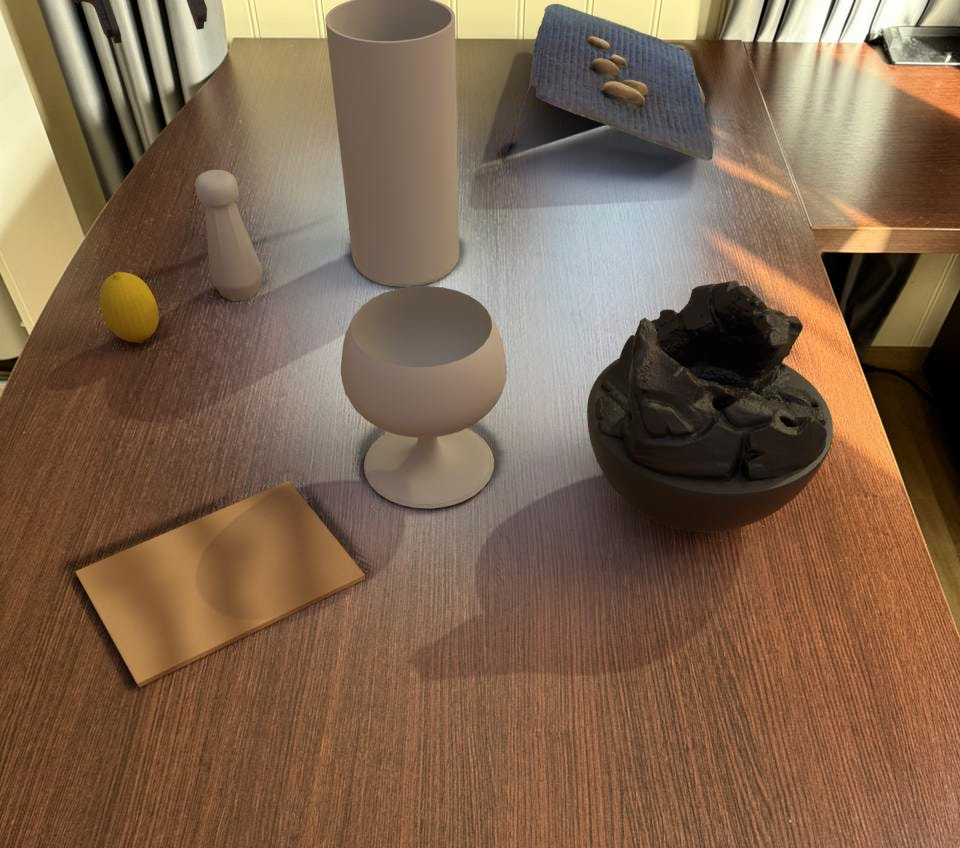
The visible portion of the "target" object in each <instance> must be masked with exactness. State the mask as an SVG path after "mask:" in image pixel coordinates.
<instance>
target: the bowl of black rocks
mask: <svg viewBox="0 0 960 848" xmlns="http://www.w3.org/2000/svg"><path fill="white" fill-rule="evenodd" d="M803 329H804V325H803V323H802V321H801V320H800V318H798V316H795V315H787V314H785V313H784V312H783V311H781V310H778V309H773V308H771V307H768V306H767V305H766V304H765V302H764V301H763V299H761V298H760V297H759V296H758V295H757V294H756V293H755V292H754V291H753V290H752V289H751V288H750V287H749V286H747V285H740V284H739V282H738V281H737V280H729V281H725V282H724V281H723V282H719V283H709V284H702V285H698V286H696V287H694V288H693V289H692V290H691V293H690V297H689V299H688V301H687V304H685V305H684V307H683V308H682V309H681V310H679V312H678V311H676V310H675V309H666V308H665V309H662V310H660V312H659V317H658V318H656V319H652V320H649V319H648V318H647V317H643V318H642V319H640V320H639V323H638V326H637V327H636V331H635V333H634V334H631V335H629V337H628V338H627V339H626V341H625V342H624V344H623V347H622V350H621V352H620V355H619V357H618V358H617V359H615V360H614V361H613V362H611V363H610V364H608V365H607V366H606V367H605V368H604V369H603V370H602V371H601V373H600V374H599V375H598V376H597V378H596V379H595V380H594V382H593V385H592V387H591V389H590V391H589V394H588V398H587V405H586V419H587V431H588V437H589V442H590V445H591V448H592V452H593V454H594V457H595V461H596V462H597V464H598V466H599V468H600V470H601V472H602V475H603V476H604V477H605V479H606V481H607V482H608V483H609V485H610V487H611V488H612V489H613V490H614V492H615V493H616V494H617V495H618V496H619V497H620V498H621V499H622V500H623V501H624V502H625V503H626V504H627V505H629V507H631V508H632V509H634V510H635V511H637V512H638V513H640V514H641V515H643V516H644V517H646V518H648V519H649V520H652V521H653V522H656V523H657V524H660V525H663V526H665V527H669V528H672V529H676V530H680V531H686V532H692V533H718V532H719V533H720V532H726V531H732V530H737V529H741V528H745V527H747V526H750V525H752V524H755V523H759V522H760V521H763V520H764V519H767V518H768V517H770V516H771V515H773V514H775V513H777V512H778V511H780V510H781V509H783V508H784V507H785V506H787V505H788V504H789V503H791V502H792V501H793V500H794V499H795V498H796V497H797V496H798V495H799V494H800V493H801V492H802V491H803V490H804V489H805V488H806V487H807V486H808V485H809V483H811V481H812V480H813V479H814V477H815V476H816V475H817V473H818V471H819V470H820V468H822V465H823V463H824V461H825V459H826V458H827V456H828V453H830V449H831V446H832V442H833V437H834V423H833V417H832V414H831V411H830V408H829V406H828V404H827V402H826V401H825V399H824V397H823V396H822V394H821V393H820V392H819V391H818V389H817V388H816V387H815V386H814V385H813V384H812V383H811V381H809V380H808V379H807V378H806V377H805V376H804V375H802V374H801V373H799V372H798V371H797V370H795V369H794V368H792V367H791V366H789V365H787V364H786V363H784V360H785V359H786V358H787V357H788V356H790V354H791V350H792V349H793V346H794V345H795V343H796V341H797V340H798V338H799V337H800V334H801V333H802V331H803Z"/></svg>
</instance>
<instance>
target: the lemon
mask: <svg viewBox="0 0 960 848" xmlns="http://www.w3.org/2000/svg"><path fill="white" fill-rule="evenodd" d="M98 296H99V300H98V301H99V307H100V311H101V315H102V318H103V320H104V322H105V324H106V326H107V327H108V328H109V330H110V331H111V332H112V333H113V334H114V336H116V337H118V338H120V339H121V340H123V341H126V342H131V343H137V344H143V343H144V341H145V340H147V339H149V338H150V337H151V336H152V335H153V334H155V332H156V330H157V327H158V325H159V320H160V319H159V317H160V316H159V307H158V303H157V301H156V298H155V296H154V294H153V293H152V290H151V289H150V288H149V286H148V284H147V283H146V282H145V281H144V280H143V279H142V278H140V276H137V275H135V274H132V273H129V272H121V271H115V272H114V273H113V274H111V275H110V276H108V277H107V278H106V279H105V280H104V281H103V283H102V284H101V286H100V290H99V295H98Z"/></svg>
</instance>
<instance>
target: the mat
mask: <svg viewBox="0 0 960 848" xmlns="http://www.w3.org/2000/svg"><path fill="white" fill-rule="evenodd" d="M536 34H537V35H536V38H535V41H534V46H533V53H532V58H531V61H532V62H531V71H530V75H529V83H528V87H527V90H526V94H525V98H524V100H523V104H522V106H521V110H520V113H519V117H518V119H517V123H516V125H518V124H519V121H520V118H521V115H522V112H523V110H524V106H525V103H526V100H527V96H528V93H529V91H530V89H531V87H533V88H534V89H535V96H536V97H535V98H537V99H539V100H541V101H543V102H544V103H547V104H549V105H551V106H554V107H556V108H559V109H562V110H564V111H567V112H569V113H571V114H574V115H578V116H580V117H583V118H585V119H589V120H592V121H594V122H598V123H600V124H603V125H606V126H609V127H612V128H614V129H616V130H619V131H621V132H624V133H626V134H629V135H631V136H634V137H636V138H638V139H641V140H644V141H647V142H650V143H653V144H655V145H658V146H662V147H665V148H667V149H670V150H673V151H676V152H679V153H682V154H684V155H687V156H690V157H692V158H693V157H694V158H696V159H698V160H703V161H708V162H709V161H712V160H713V155H714V154H713V152H714V147H713V146H714V145H713V139H712V136H711V133H710V126H709V123H708V121H707V116H706V113H705V105H706V104H705V103H706V100H705V99H706V96H705V94H704V92H703V90H702V87H701V85H700V83H699V80H698V78H697V75H696V69H695V63H694V60H693V58H692V57H691V54H690V53H689V52H688V51H687V50H686V49H685V48H682V47H679V46H678V45H675V44H672V43H670V42H668V41H666V40H663V39H661V38H659V37H656V36H654V35H651V34H649V33H648V34H647V33H644V32H642V31H639V30H637V29H634V28H632V27H629V26H627V25H624V24H620V23H617V22H614V21H611V20H609V19H606V18H602V17H600V16H597V15H593V14H590V13H587V12H584V11H581V10H579V9H576V8H573V7H570V6H567V5H564V4H561V3H551V4H549V5H547V6H545V8H544V13H543V17H542V19H541V24H540V25H539V27H538V30H537V33H536ZM688 55H689V56H688ZM515 133H516V132H515V131H514V132H513V134H512V137H511V140H510V142H509V145H508V147H507V150H506V152H508V151H509V149H510V147H511V145H512V141H513V138H514V136H515ZM506 158H507V156H506V155H505V156H504V157H503V160H502V162H504V161H505V159H506Z"/></svg>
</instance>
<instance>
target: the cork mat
mask: <svg viewBox="0 0 960 848" xmlns="http://www.w3.org/2000/svg"><path fill="white" fill-rule="evenodd" d="M75 574H76V576H77V579H78V580H79V582H80V584H81V585H82V587H83V589H84V591H85V593H86V594H87V596H88V598H89V600H90V602H91V604H92V606H93V607H94V609H95V611H96V612H97V615H98V616H99V618H100V620H101V622H102V623H103V626H104V627H105V629H106V631H107V633H108V635H109V636H110V638H111V640H112V642H113V643H114V646H115V647H116V649H117V651H118V653H119V655H120V657H121V658H122V660H123V662H124V663H125V665H126V667H127V669H128V671H129V672H130V675H131V676H132V678H133V680H134V682H135V683H136V685H137V687H138V688H142V687H144V686H146V685H148V684H151V683H152V682H154V681H156V680H158V679H160V678H163V677H165V676H168V675H169V674H171V673H173V672H175V671H177V670H179V669H181V668H183V667H185V666H188V665H190V664H192V663H194V662H196V661H198V660H201V659H202V658H204V657H206V656H209V655H210V654H213V653H215V652H217V651H219V650H221V649H224V648H225V647H227V646H229V645H231V644H233V643H236V642H237V641H240V640H242V639H244V638H246V637H248V636H250V635H252V634H255V633H256V632H259V631H260V630H262V629H265V628H267V627H269V626H271V625H273V624H275V623H277V622H279V621H282V620H283V619H285V618H288V617H289V616H292V615H294V614H296V613H298V612H300V611H303V610H305V609H306V608H308V607H311V606H312V605H315V604H317V603H319V602H321V601H323V600H325V599H327V598H329V597H331V596H333V595H335V594H337V593H340V592H341V591H344V590H346V589H348V588H350V587H352V586H354V585H356V584H359V583H360V582H362V581H364V580H366V575H365V573H364V572H363V570H362V569H361V568H360V567H359V565H358V564H357V563H356V562H355V560H354V559H353V557H352V556H351V555H350V554H349V553H348V552H347V550H345V548H344V547H343V546H342V544H341V543H340V542H339V541H338V540H337V538H336V537H335V536H334V535H333V533H332V532H331V531H330V529H329V528H328V527H327V526H326V525H325V523H324V522H323V521H322V520H321V518H320V517H319V516H318V515H317V514H316V511H314V510H313V509H312V508H311V506H310V505H309V504H308V502H307V501H306V500H305V498H304V497H302V495H301V493H300V492H299V491H298V490H297V489H296V487H295V486H294V485H293V484H292V482H291V481H290V480H288V481H284V482H282V483H280V484H278V485H276V486H273V487H270V488H269V489H266V490H264V491H261V492H259V493H256V494H253V495H252V496H249V497H247V498H245V499H242V500H240V501H238V502H235V503H232V504H230V505H228V506H226V507H224V508H221V509H219V510H217V511H214V512H211V513H209V514H207V515H204V516H202V517H200V518H198V519H195V520H193V521H190V522H188V523H186V524H183V525H181V526H178V527H176V528H174V529H171V530H169V531H167V532H164V533H162V534H159V535H158V536H155V537H153V538H150V539H148V540H146V541H143V542H141V543H138V544H136V545H134V546H131V547H129V548H127V549H124V550H122V551H120V552H117V553H115V554H113V555H111V556H108V557H106V558H103V559H101V560H98V561H96V562H94V563H91V564H89V565H86V566H84V567H82V568H80V569H78V570H75Z"/></svg>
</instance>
